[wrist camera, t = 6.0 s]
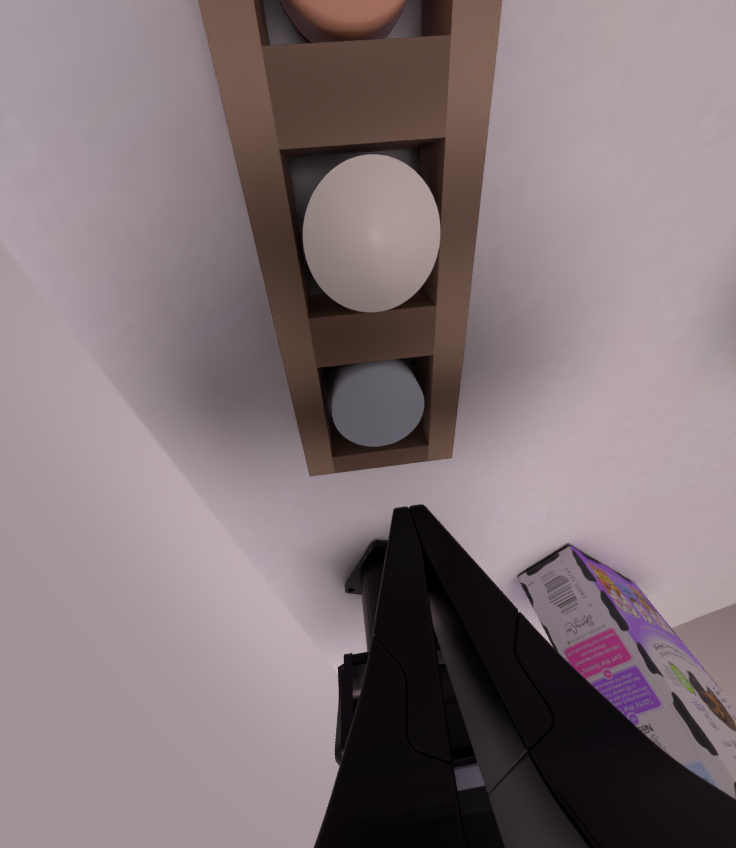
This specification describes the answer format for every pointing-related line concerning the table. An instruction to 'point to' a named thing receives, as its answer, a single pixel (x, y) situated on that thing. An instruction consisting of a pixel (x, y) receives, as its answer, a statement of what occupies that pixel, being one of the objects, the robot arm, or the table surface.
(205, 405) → the table surface
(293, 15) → the button terracotta
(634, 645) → the candy box
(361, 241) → the button cream
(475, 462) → the table surface
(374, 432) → the button grey
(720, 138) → the table surface
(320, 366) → the button panel
